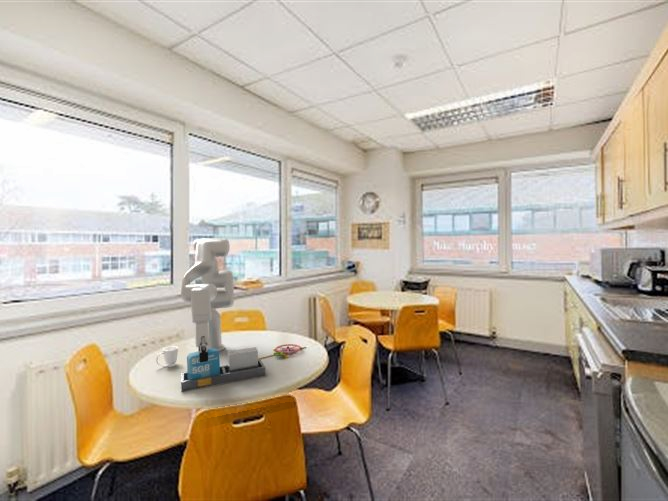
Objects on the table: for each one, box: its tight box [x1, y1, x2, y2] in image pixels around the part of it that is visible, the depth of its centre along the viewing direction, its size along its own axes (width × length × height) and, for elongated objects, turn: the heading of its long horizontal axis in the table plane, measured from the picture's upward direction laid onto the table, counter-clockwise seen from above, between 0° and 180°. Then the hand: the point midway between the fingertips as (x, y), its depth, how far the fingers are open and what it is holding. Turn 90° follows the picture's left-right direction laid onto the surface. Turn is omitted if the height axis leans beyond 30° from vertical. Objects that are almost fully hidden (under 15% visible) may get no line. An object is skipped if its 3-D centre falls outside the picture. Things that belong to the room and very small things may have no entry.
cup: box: [155, 345, 179, 368], centre depth 160 cm, size 7×10×8 cm
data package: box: [186, 348, 221, 380], centre depth 141 cm, size 12×4×12 cm, turn 126°
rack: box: [180, 346, 267, 392], centre depth 144 cm, size 11×33×11 cm, turn 114°
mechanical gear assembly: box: [258, 343, 307, 360], centre depth 173 cm, size 30×4×15 cm
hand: (203, 357), depth 141 cm, fingers open, 9 cm apart
